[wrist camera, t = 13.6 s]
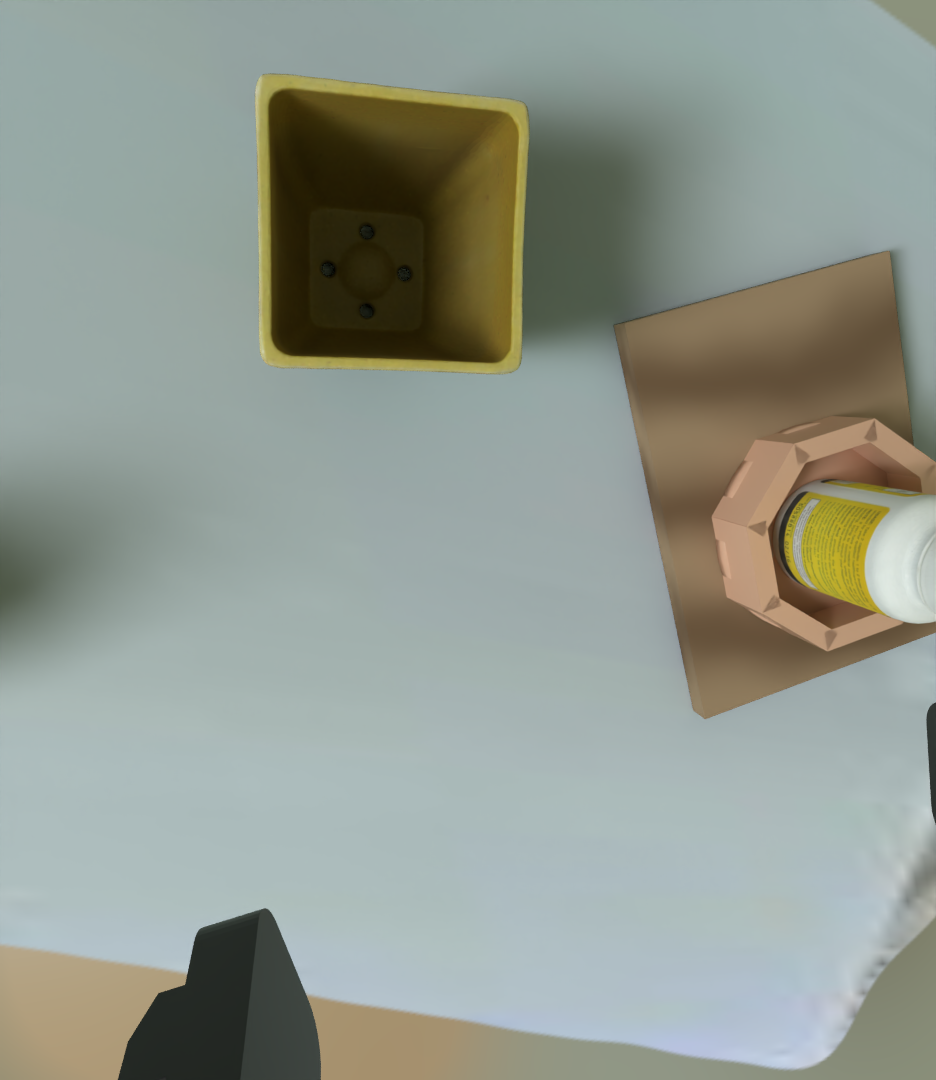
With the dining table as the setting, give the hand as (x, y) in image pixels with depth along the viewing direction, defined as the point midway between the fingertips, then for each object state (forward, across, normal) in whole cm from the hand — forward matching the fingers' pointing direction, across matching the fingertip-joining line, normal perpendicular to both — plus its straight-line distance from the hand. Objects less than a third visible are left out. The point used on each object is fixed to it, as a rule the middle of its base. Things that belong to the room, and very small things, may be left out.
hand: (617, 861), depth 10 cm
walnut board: (+30, -17, +8) cm, 36 cm away
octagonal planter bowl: (+29, -18, +10) cm, 35 cm away
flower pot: (+30, 0, -7) cm, 30 cm away
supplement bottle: (+28, -18, +10) cm, 35 cm away
